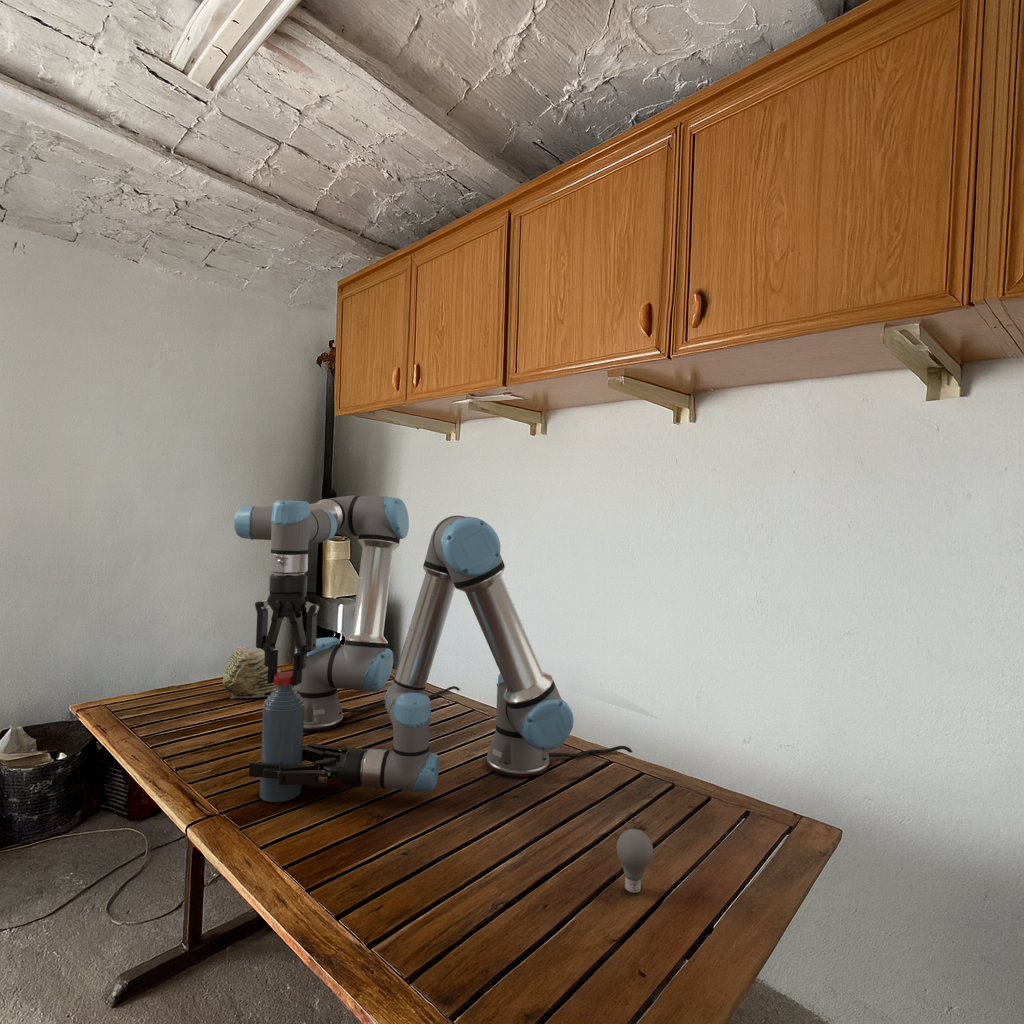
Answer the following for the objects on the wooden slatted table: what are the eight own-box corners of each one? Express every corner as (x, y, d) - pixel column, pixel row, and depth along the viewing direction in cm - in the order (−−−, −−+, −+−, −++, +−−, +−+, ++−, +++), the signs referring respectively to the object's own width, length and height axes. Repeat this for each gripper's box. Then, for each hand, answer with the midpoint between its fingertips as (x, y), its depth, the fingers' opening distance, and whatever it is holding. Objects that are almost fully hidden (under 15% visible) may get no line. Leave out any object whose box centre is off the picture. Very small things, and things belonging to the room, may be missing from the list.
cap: (284, 687, 131) (284, 678, 131) (268, 683, 133) (268, 675, 133) (300, 682, 135) (300, 673, 135) (284, 678, 137) (285, 670, 137)
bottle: (250, 797, 132) (254, 679, 132) (277, 781, 140) (281, 669, 140) (283, 805, 129) (288, 684, 129) (309, 788, 137) (313, 674, 137)
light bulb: (610, 879, 108) (613, 822, 108) (644, 879, 109) (647, 822, 109) (619, 902, 102) (622, 840, 102) (655, 901, 103) (658, 840, 103)
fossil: (218, 695, 195) (220, 647, 195) (278, 685, 208) (279, 640, 207) (228, 703, 189) (230, 653, 188) (289, 692, 201) (290, 645, 201)
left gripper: (239, 573, 131) (235, 684, 132) (321, 578, 129) (317, 691, 129) (257, 569, 139) (254, 674, 139) (336, 573, 137) (332, 681, 137)
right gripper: (347, 809, 123) (234, 801, 124) (377, 764, 144) (281, 757, 146) (349, 771, 123) (236, 763, 124) (379, 731, 144) (282, 725, 145)
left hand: (284, 682), depth 134 cm, fingers open, 5 cm apart
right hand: (260, 760), depth 135 cm, fingers closed on bottle, 8 cm apart
